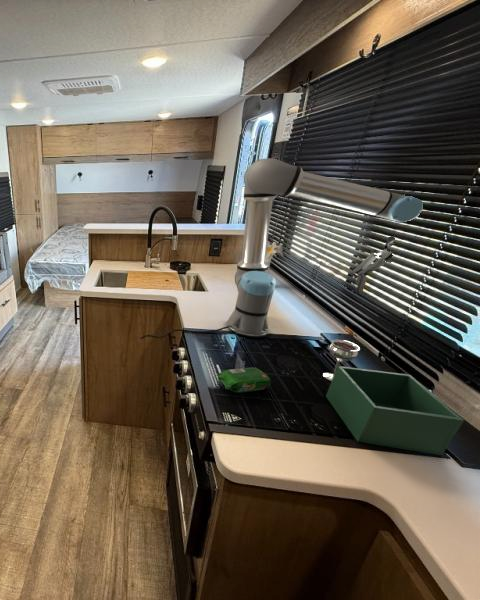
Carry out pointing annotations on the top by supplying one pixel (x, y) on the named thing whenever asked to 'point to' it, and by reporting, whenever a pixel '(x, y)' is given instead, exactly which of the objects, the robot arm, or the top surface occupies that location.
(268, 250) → the flower vase
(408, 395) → the open green storage bin
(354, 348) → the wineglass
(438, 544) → the top surface
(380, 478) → the top surface
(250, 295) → the robot arm
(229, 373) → the snack package
